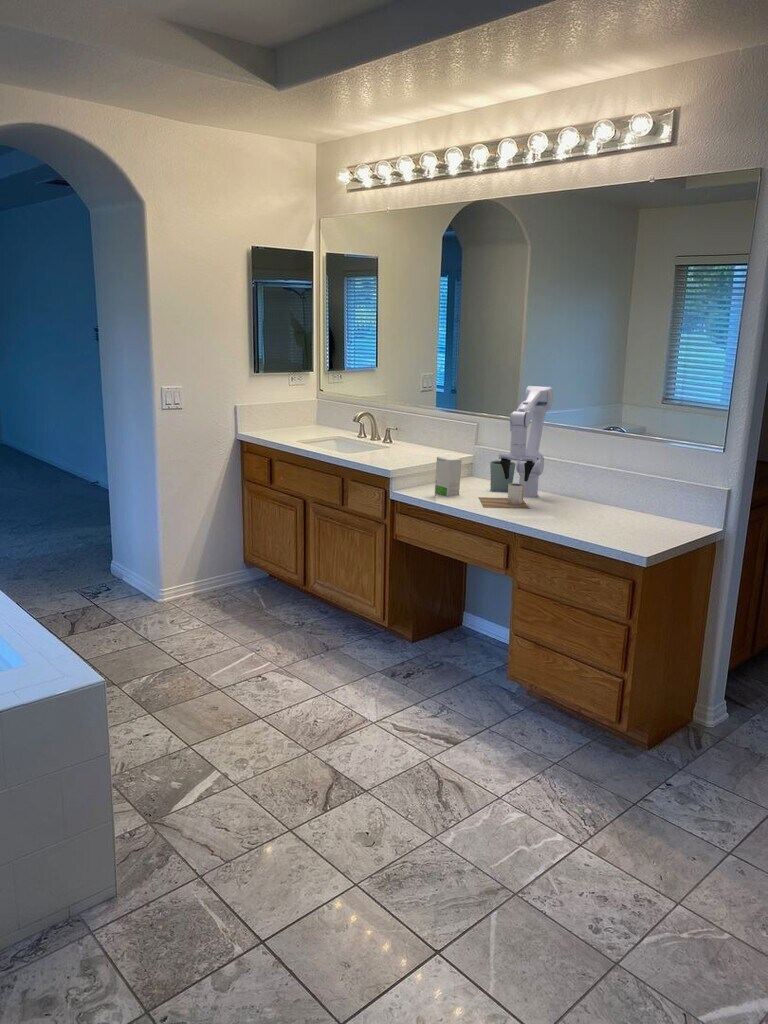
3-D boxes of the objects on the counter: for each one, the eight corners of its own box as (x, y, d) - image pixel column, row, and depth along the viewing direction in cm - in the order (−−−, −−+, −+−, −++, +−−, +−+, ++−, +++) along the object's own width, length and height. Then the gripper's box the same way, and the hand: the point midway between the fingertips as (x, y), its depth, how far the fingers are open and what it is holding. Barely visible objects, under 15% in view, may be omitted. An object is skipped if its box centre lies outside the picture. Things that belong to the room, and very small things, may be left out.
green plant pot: (485, 489, 332) (486, 460, 329) (507, 488, 335) (508, 459, 332) (495, 494, 323) (496, 465, 320) (518, 493, 326) (519, 464, 323)
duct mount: (478, 499, 312) (478, 487, 311) (521, 500, 312) (522, 487, 311) (483, 510, 295) (484, 497, 294) (529, 511, 295) (530, 497, 294)
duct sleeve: (505, 503, 302) (506, 485, 301) (510, 500, 307) (511, 482, 305) (519, 505, 300) (520, 486, 298) (524, 502, 304) (525, 484, 303)
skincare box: (434, 495, 319) (435, 456, 316) (446, 493, 323) (447, 455, 320) (448, 499, 313) (449, 459, 309) (460, 497, 317) (462, 458, 313)
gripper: (496, 443, 298) (494, 479, 301) (533, 446, 291) (531, 483, 294) (503, 441, 304) (501, 476, 307) (540, 444, 297) (537, 480, 300)
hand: (516, 479), depth 301 cm, fingers open, 7 cm apart
